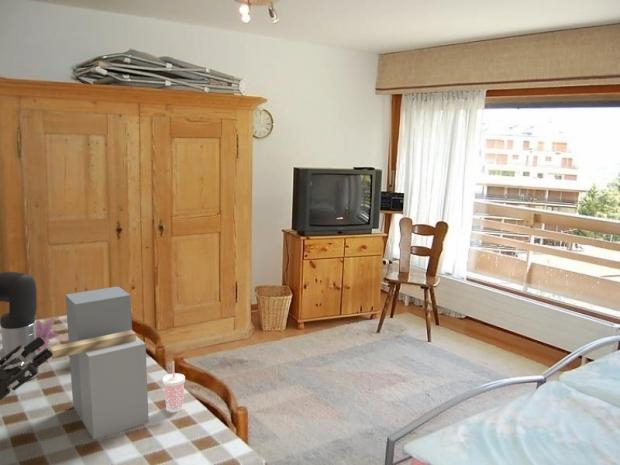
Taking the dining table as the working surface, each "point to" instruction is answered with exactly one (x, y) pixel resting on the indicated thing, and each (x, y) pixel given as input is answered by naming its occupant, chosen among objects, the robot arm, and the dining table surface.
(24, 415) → the dining table surface
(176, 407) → the beverage cup
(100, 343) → the maple bar
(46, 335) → the lily
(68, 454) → the dining table surface
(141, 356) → the stepped stand
